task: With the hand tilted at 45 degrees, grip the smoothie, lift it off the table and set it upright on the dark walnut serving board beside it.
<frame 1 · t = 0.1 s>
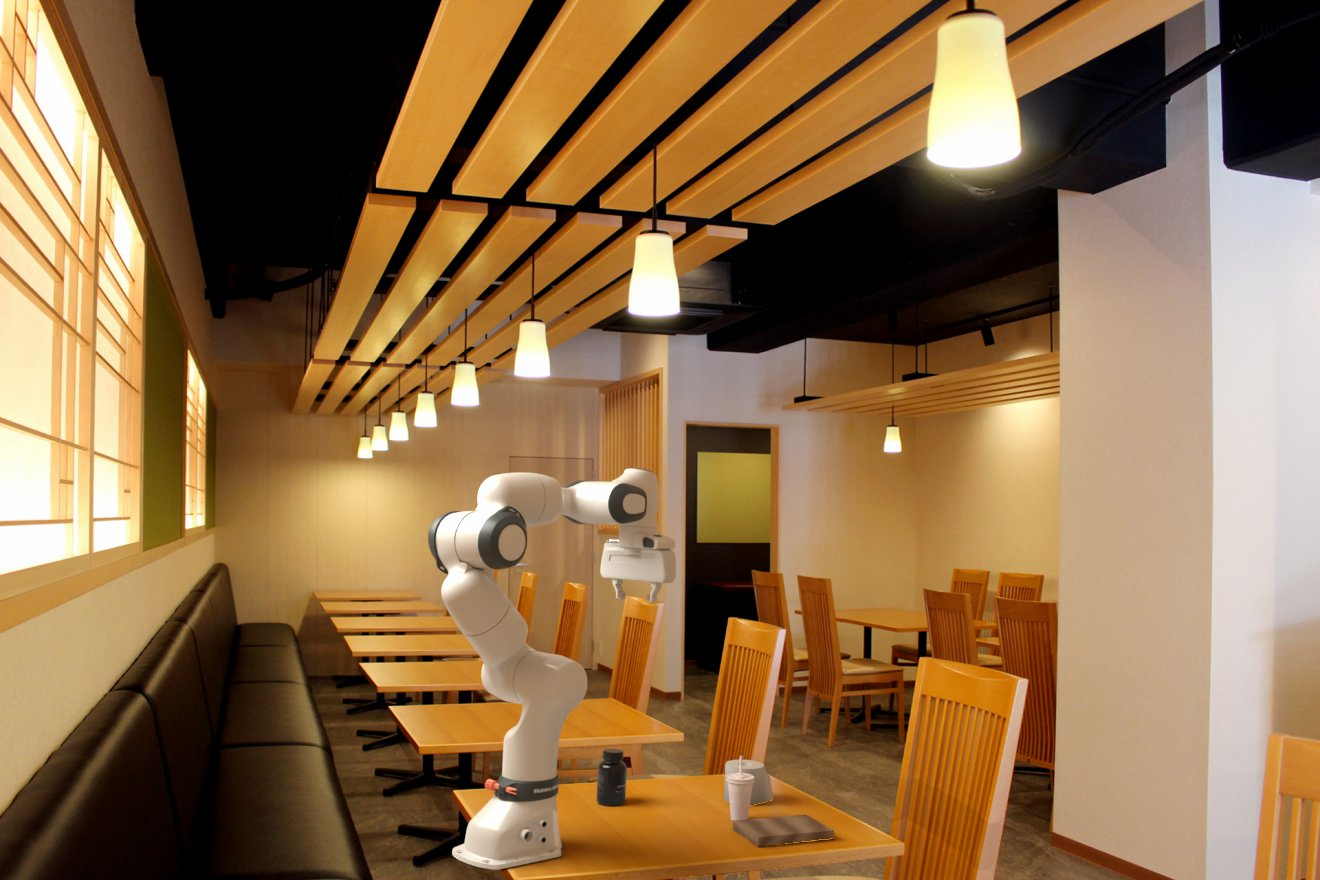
hand: (636, 600, 239), 48 cm above the table, tool pointing down, fingers open, 8 cm apart
supplement bottle: (610, 803, 247), on the table
smoothie: (739, 820, 236), on the table
walnut board: (782, 834, 226), on the table
toilet tissue: (749, 801, 253), on the table
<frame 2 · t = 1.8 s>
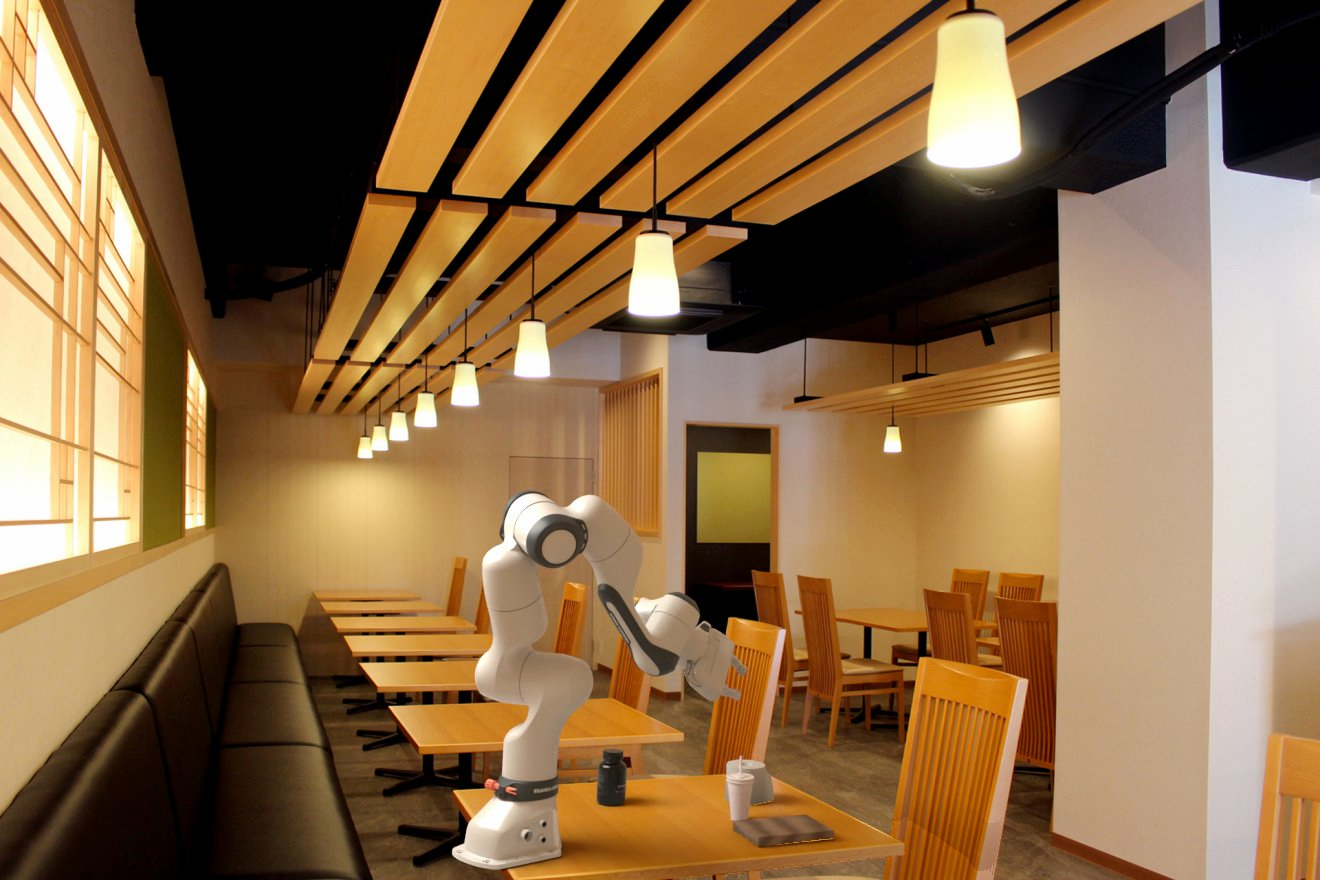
hand: (742, 684, 235), 31 cm above the table, tool tilted 60°, fingers open, 8 cm apart
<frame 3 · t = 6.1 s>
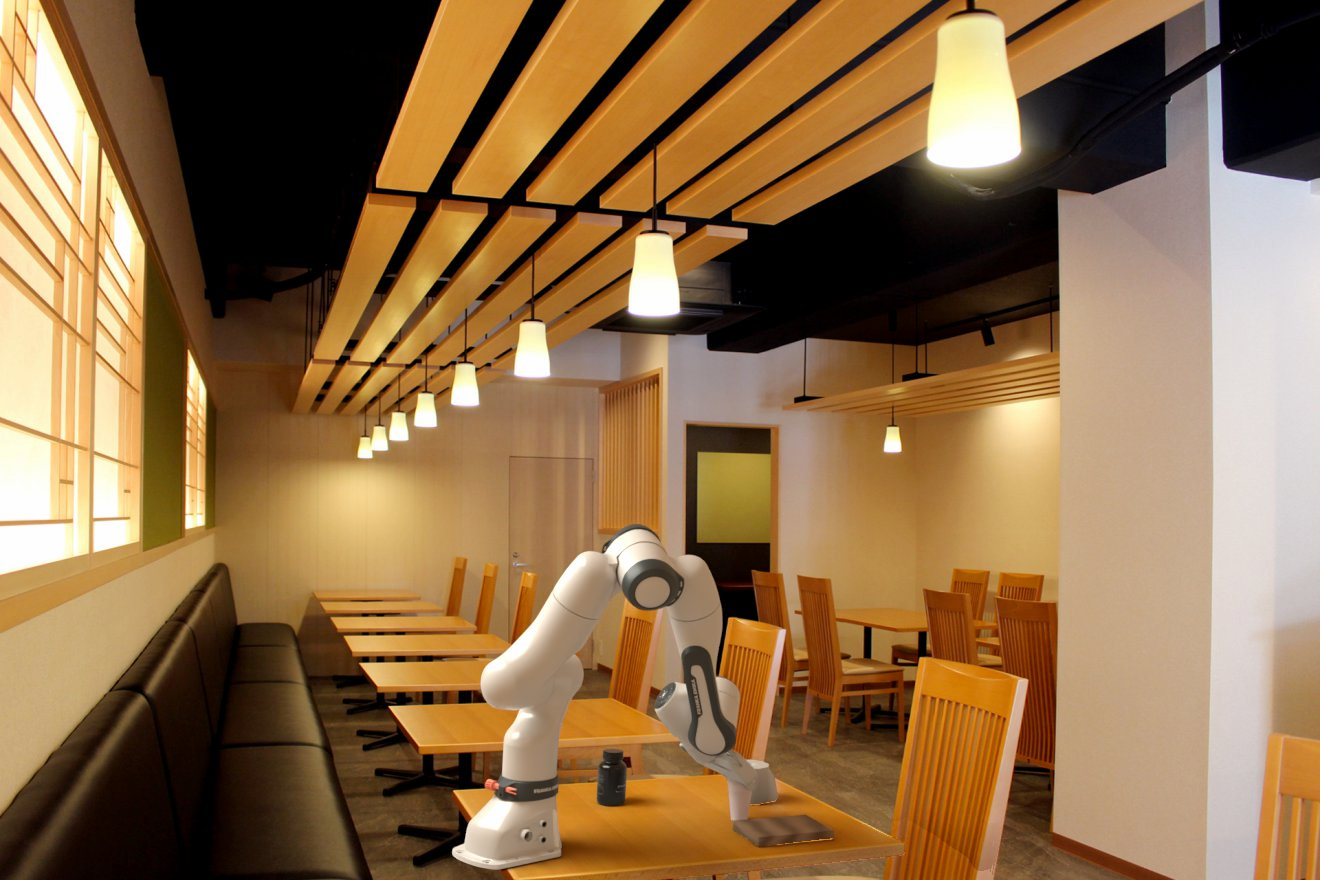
hand: (742, 784, 237), 8 cm above the table, tool tilted 45°, fingers closed on smoothie, 6 cm apart
smoothie: (739, 820, 236), on the table, touching gripper
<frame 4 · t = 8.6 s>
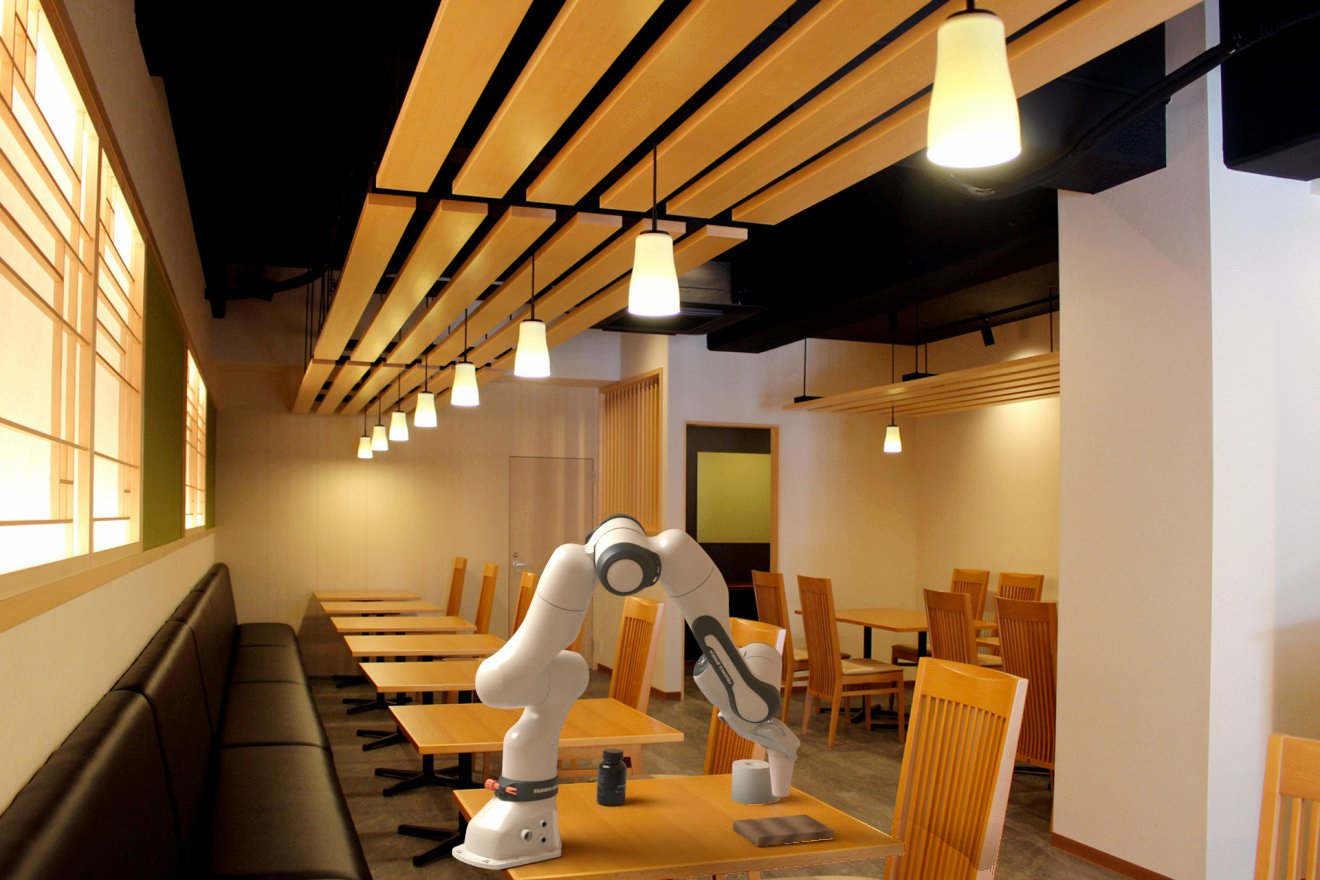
hand: (783, 755, 229), 17 cm above the table, tool tilted 45°, fingers closed on smoothie, 6 cm apart
smoothie: (780, 795, 228), point 8 cm above the table, touching gripper
when the fingers open (11 cm above the table, at t = 11.0 s): smoothie stays where it is, resting on walnut board.
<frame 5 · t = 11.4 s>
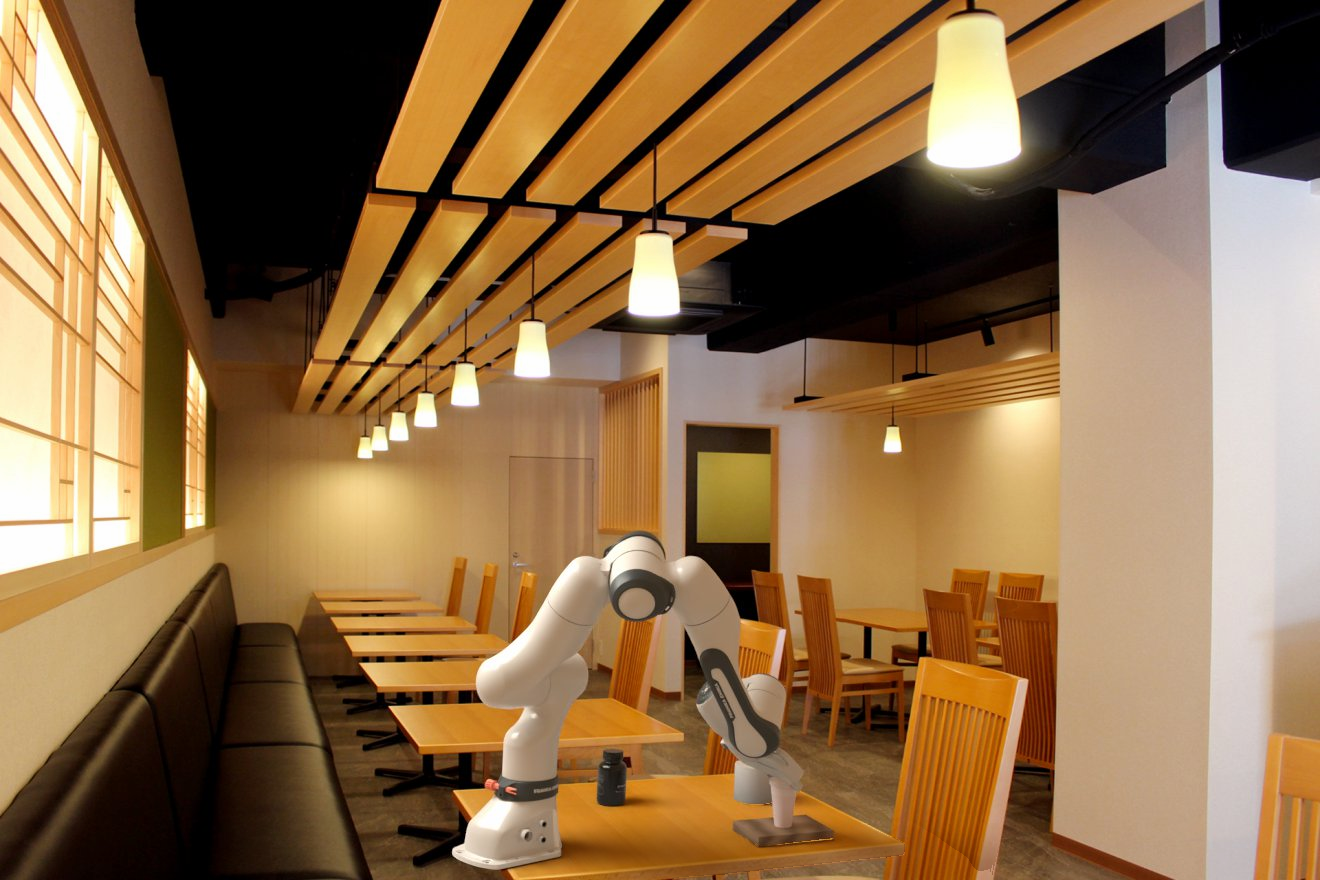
hand: (786, 783, 227), 11 cm above the table, tool tilted 45°, fingers open, 8 cm apart
smoothie: (782, 826, 227), point 2 cm above the table, touching walnut board
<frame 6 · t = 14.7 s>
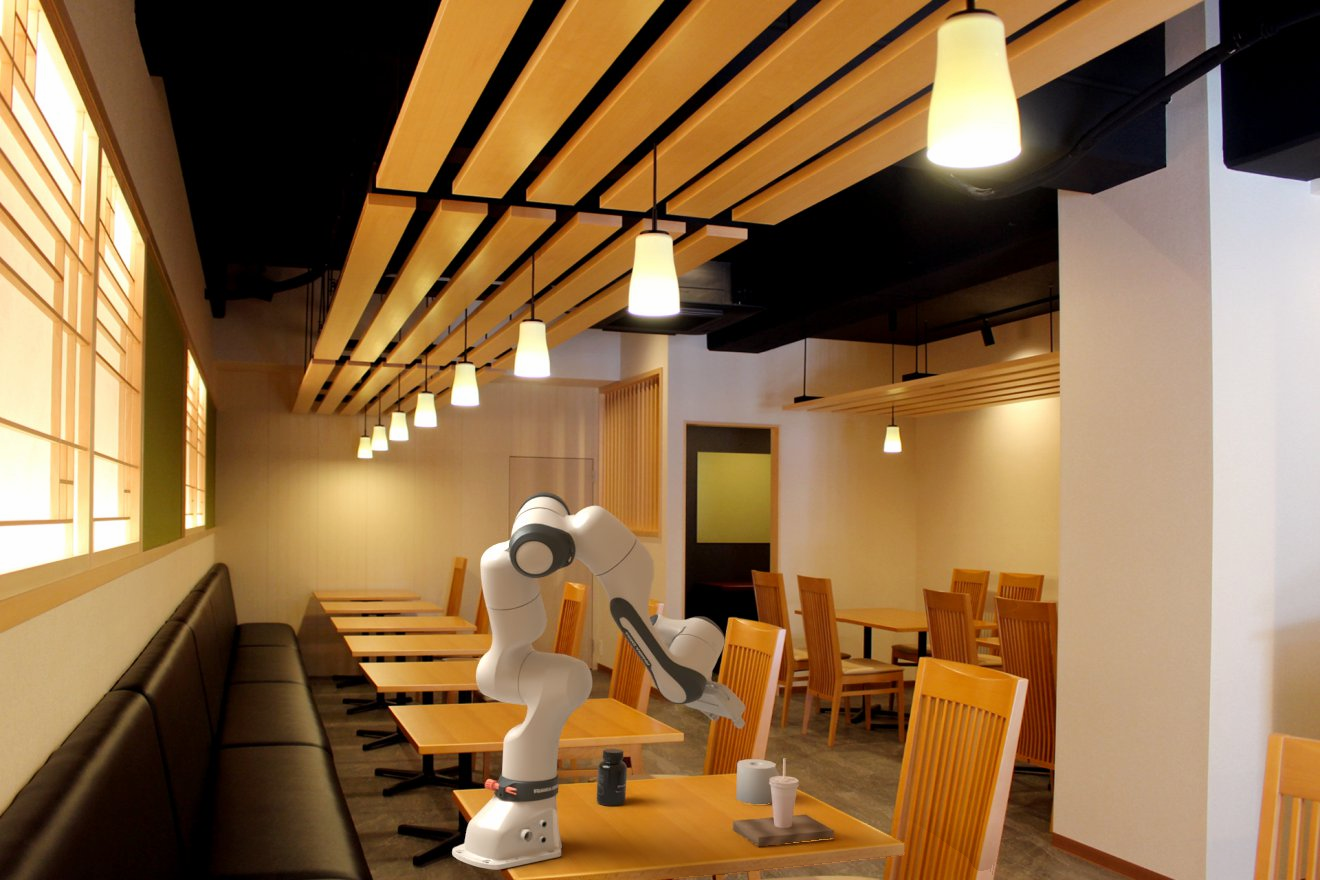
hand: (728, 722, 224), 24 cm above the table, tool tilted 45°, fingers open, 8 cm apart
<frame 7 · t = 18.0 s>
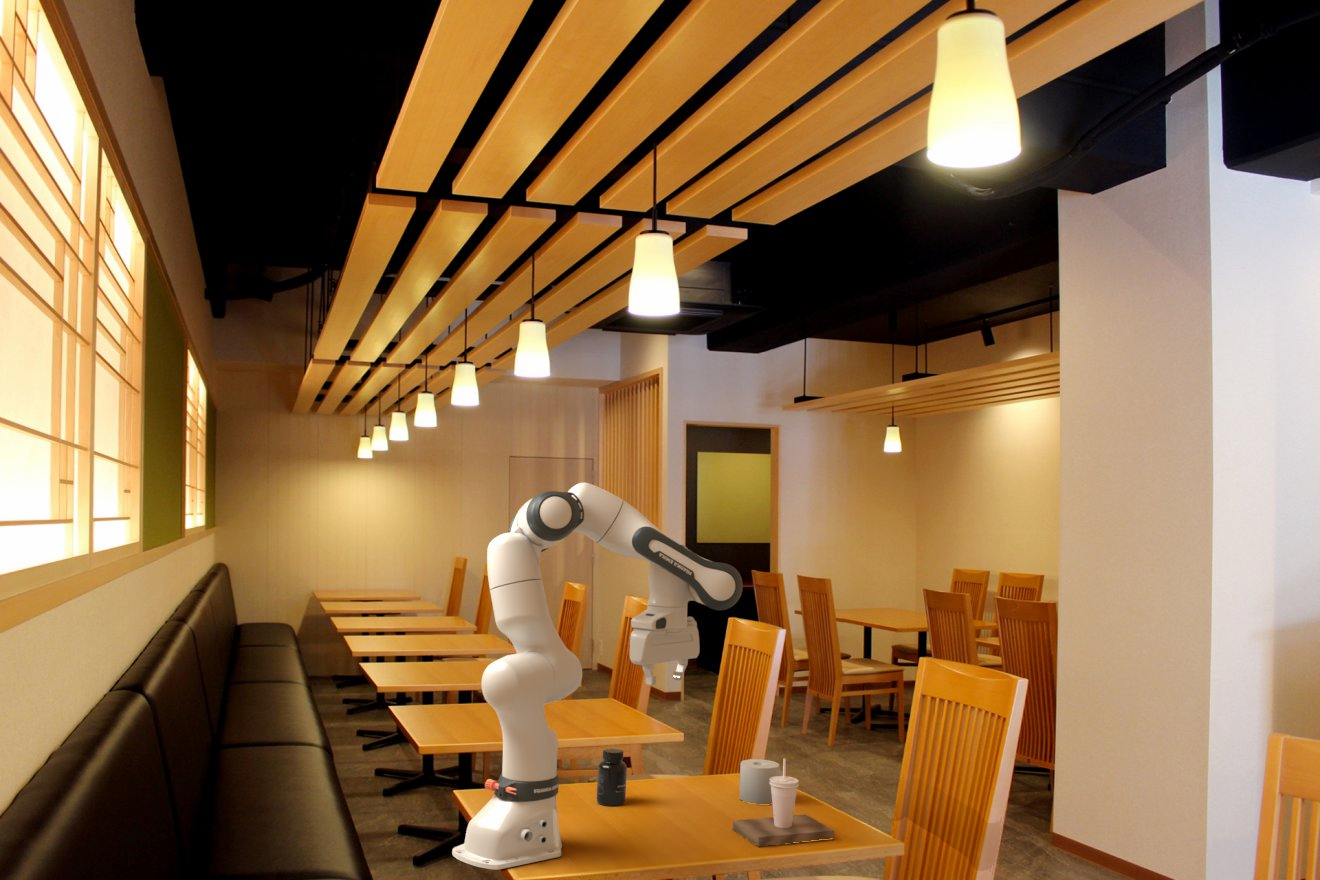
hand: (664, 682, 231), 31 cm above the table, tool pointing down, fingers open, 8 cm apart
at the end: smoothie inside the target area on the walnut board (0.1 cm from its centre), point 1.8 cm above the walnut board's base; smoothie tilted 0°; the gripper is holding nothing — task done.
